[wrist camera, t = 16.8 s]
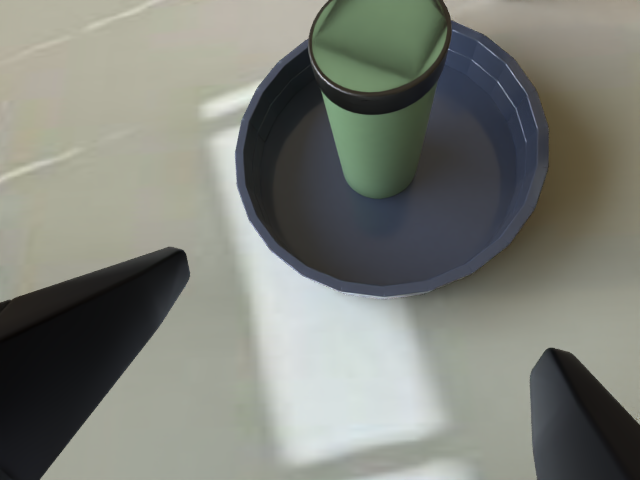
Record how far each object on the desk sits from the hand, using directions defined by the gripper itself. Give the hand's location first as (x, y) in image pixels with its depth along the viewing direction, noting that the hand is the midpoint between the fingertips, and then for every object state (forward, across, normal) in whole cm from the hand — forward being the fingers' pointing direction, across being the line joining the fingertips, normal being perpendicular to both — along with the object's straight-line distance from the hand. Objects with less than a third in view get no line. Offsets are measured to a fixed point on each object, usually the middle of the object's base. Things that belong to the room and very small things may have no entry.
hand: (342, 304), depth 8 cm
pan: (+17, +1, +3) cm, 17 cm away
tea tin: (+16, +2, +2) cm, 16 cm away
